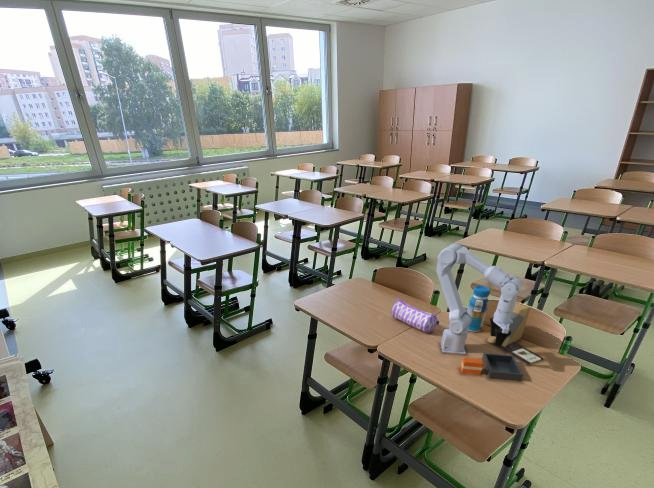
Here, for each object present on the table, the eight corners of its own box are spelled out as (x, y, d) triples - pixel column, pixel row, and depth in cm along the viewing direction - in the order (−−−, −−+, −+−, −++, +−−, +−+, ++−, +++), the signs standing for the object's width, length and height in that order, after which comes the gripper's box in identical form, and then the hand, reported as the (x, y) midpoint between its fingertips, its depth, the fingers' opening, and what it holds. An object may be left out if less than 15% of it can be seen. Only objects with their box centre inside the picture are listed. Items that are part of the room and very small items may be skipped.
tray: (488, 379, 150) (490, 371, 148) (481, 360, 161) (483, 352, 160) (520, 382, 149) (523, 374, 147) (511, 362, 160) (513, 355, 158)
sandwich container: (485, 341, 174) (493, 310, 167) (503, 331, 183) (511, 301, 175) (504, 348, 169) (513, 316, 161) (521, 338, 177) (530, 307, 169)
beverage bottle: (459, 326, 186) (468, 286, 175) (471, 322, 190) (481, 283, 179) (472, 334, 180) (483, 293, 169) (485, 330, 183) (496, 289, 173)
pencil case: (438, 330, 182) (441, 311, 177) (426, 336, 177) (429, 317, 172) (399, 314, 196) (402, 296, 191) (387, 319, 191) (390, 301, 186)
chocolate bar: (507, 338, 175) (543, 358, 162) (507, 340, 176) (542, 359, 162) (493, 342, 172) (528, 363, 158) (492, 344, 172) (527, 365, 159)
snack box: (461, 373, 153) (464, 362, 150) (460, 368, 156) (462, 357, 153) (480, 375, 152) (483, 363, 149) (478, 370, 155) (481, 358, 152)
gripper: (521, 318, 142) (511, 351, 150) (510, 302, 154) (501, 332, 162) (501, 317, 143) (491, 349, 150) (492, 301, 155) (483, 331, 163)
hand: (495, 340), depth 156 cm, fingers open, 7 cm apart
